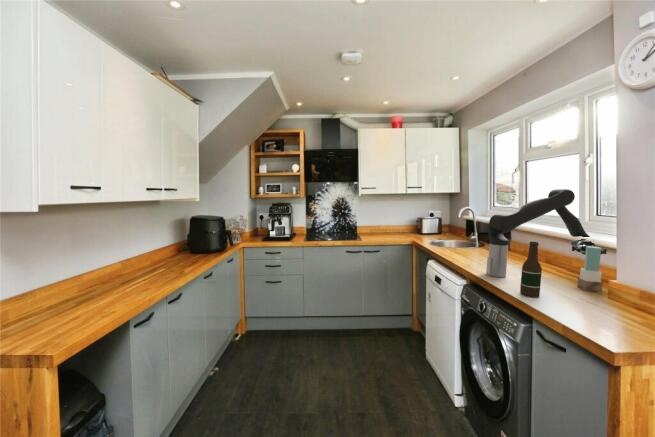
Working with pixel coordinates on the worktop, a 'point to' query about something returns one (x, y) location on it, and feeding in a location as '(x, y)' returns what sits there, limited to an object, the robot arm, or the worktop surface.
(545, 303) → the worktop surface
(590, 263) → the teal block
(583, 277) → the cream block
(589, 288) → the walnut block
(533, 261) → the beer bottle
